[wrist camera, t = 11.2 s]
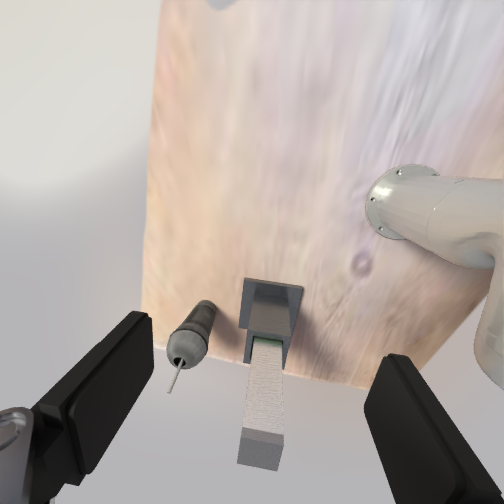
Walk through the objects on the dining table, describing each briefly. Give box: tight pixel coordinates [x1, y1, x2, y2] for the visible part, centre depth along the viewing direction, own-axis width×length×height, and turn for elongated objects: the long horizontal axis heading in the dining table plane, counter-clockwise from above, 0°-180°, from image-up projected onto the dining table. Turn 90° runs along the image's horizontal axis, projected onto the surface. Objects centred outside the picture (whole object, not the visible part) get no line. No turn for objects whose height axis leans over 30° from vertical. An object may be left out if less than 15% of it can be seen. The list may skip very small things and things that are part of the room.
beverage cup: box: [166, 300, 216, 394], centre depth 43 cm, size 7×7×20 cm
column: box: [237, 336, 284, 471], centre depth 34 cm, size 4×4×20 cm
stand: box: [239, 278, 302, 370], centre depth 45 cm, size 12×12×13 cm
